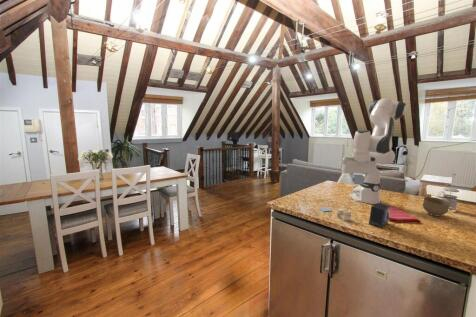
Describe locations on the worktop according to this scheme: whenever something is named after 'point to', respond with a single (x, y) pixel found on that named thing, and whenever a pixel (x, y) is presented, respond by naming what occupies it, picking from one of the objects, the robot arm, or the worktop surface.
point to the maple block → (343, 214)
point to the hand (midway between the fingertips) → (357, 180)
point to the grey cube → (358, 179)
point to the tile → (325, 209)
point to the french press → (450, 196)
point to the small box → (379, 215)
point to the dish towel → (400, 215)
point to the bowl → (435, 205)
